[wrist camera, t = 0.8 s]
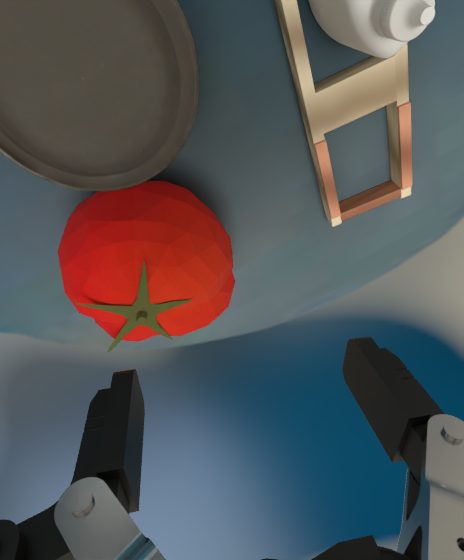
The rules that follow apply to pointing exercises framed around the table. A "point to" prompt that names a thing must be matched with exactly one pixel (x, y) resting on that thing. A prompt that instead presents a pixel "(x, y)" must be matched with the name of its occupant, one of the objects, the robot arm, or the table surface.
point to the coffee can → (95, 89)
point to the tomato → (146, 261)
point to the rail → (351, 114)
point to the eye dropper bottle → (373, 22)
